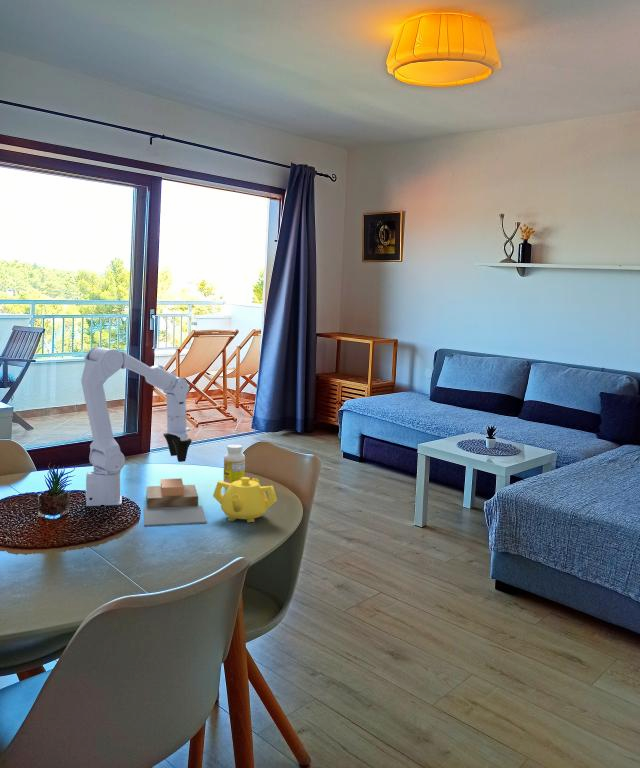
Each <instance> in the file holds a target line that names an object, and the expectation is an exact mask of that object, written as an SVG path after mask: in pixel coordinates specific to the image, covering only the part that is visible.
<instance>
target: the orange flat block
mask: <svg viewBox="0 0 640 768" xmlns="http://www.w3.org/2000/svg"><path fill="white" fill-rule="evenodd" d="M183 485H184V483H183V478H161V479H160V486H161V493H162V496H181V495H184V486H183Z"/></svg>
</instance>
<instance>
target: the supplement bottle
mask: <svg viewBox="0 0 640 768" xmlns="http://www.w3.org/2000/svg"><path fill="white" fill-rule="evenodd" d="M226 449H227V453H225V454H224V457H223V482H227V483H232V482H234V481H238V480H241V478H242V477H246V475H245V474H246V473H245V472H246V471H245V470H246V456H245V454H244V453H243V445H241V444H228V445H227V447H226Z"/></svg>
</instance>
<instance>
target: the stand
mask: <svg viewBox="0 0 640 768" xmlns="http://www.w3.org/2000/svg"><path fill="white" fill-rule="evenodd" d="M183 486H184V495H181V496H162V493H161V485H150V486H149V485H148V486H146V508H158V507H182V506H199V494H198V491H197V488H196V485H195V484H183Z"/></svg>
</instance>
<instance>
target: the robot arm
mask: <svg viewBox="0 0 640 768" xmlns="http://www.w3.org/2000/svg"><path fill="white" fill-rule="evenodd" d="M164 368H165V367H164V366H163V365H161V364H158V365H151V366H149V365H147V364H146V363H144V362H142V361H140V360H139V359H137V358H135V357H133V356H132V355H130V354H128V353H126V352H123V351H120V350H119V349H116V348H105V347H102V346H94V347H91V349H90V350H89V351H88V352H87V353H86V354H85V356H84V367H83V370H82V375H81V378H80V379H81V380H80V381H81V387H82V391H83V392H82V393H83V397H84V401H85V406H86V410H87V415H88V420H89V426H90V430H91V435H92V442H91V443H90V445H89V448H90V450H89V451H90V452H89V456H88V458H89V463H90V464H91V465H92V466H93V471H89V472H86V477H85V495H84V496H85V499H86V500H85V501H86V502H85V507H100V506H101V505H104V506H121V505H122V501H123V500H122V499H123V495H121V472H122V469H123V468H124V467H125V464H126V458H125V455H124V453H123V452H122V451H121V447H120V445H119V443H118V442H117V440H116V439H115V438H114V433H113V429H112V424H111V423H112V422H111V419H110V414H109V409H108V404H107V403H108V402H107V398H106V394H105V389H104V384H105V383H106V381H107V380H108V379H109V378H111V377H112V376H113V375H115V374H116V373H117V372H119V371H120V369H121V370H122V369H123V370H124V369H127V370H129V371H132V372H134V373H135V374H138V375H140V376H142V377H144V379H145V382H146V383H147V384H149V385H151V386H153V387H155V388H158V389H159V390H161V391H162V392H163V393H164V394H166V395H165V396H166V397H165V398H166V419H167V420H166V423H167V424H166V427H167V428H166V432H165V433H163V437H164V438H165V441H166V443H167V446H168V449H169V450H168V451H169V453H170V457H175V456H176V460H177V461H178V462H179V463H183V462H186V460H187V455H188V450H189V448H190V445H191V443H192V441H193V440H192V439H191V438H189V437H188V436H189V434H188V432H190V431H191V428H190V427H187V403H186V400H187V395H188V393H189V391H190V385H189V384H188V381H187V380H186V379H185V378H184V377H179V376H176V373H175V372H173V371H172V372H169V371H168V370H166V369H164ZM101 507H102V506H101Z"/></svg>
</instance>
